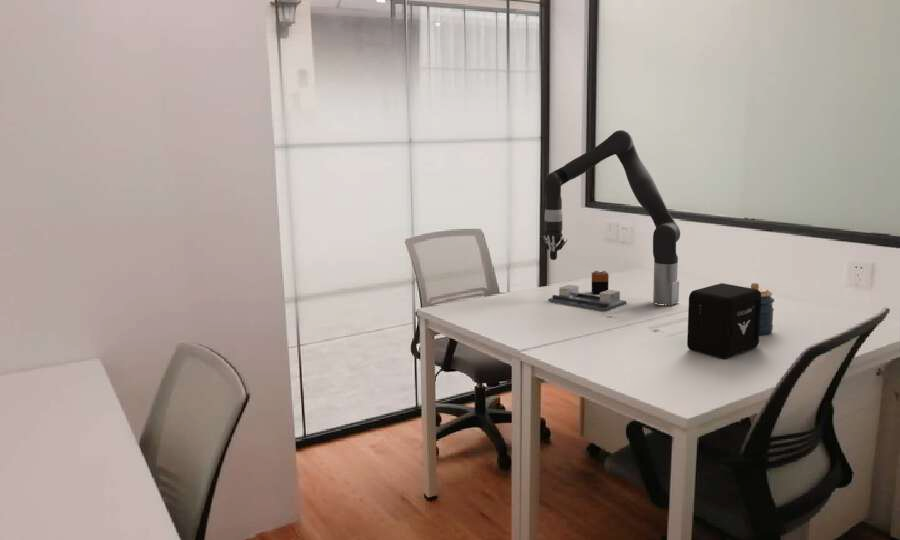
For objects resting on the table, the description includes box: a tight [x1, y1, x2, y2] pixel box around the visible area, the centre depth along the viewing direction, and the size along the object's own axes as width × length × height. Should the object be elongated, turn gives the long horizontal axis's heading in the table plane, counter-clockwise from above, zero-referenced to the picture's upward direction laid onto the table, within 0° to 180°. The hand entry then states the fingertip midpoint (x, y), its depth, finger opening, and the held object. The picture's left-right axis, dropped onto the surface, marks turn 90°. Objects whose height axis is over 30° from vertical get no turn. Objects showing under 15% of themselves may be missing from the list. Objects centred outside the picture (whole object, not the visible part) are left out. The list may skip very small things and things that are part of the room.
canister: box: [746, 282, 775, 337], centre depth 255 cm, size 13×13×18 cm
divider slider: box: [558, 284, 580, 298], centre depth 308 cm, size 5×10×4 cm, turn 136°
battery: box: [591, 270, 609, 295], centre depth 319 cm, size 4×7×10 cm, turn 88°
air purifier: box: [686, 282, 761, 359], centre depth 235 cm, size 20×15×20 cm
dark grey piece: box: [547, 289, 627, 313], centre depth 303 cm, size 28×16×6 cm, turn 46°
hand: (553, 259), depth 312 cm, fingers closed
